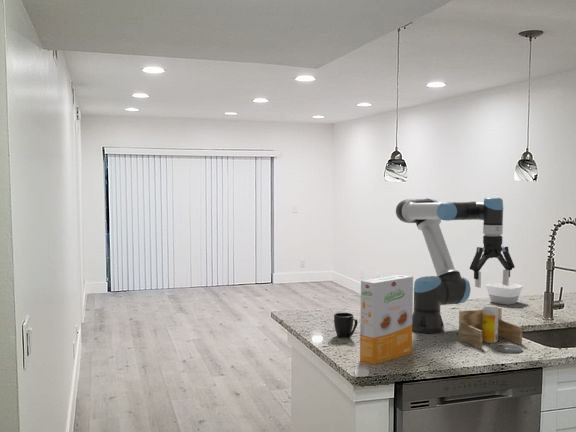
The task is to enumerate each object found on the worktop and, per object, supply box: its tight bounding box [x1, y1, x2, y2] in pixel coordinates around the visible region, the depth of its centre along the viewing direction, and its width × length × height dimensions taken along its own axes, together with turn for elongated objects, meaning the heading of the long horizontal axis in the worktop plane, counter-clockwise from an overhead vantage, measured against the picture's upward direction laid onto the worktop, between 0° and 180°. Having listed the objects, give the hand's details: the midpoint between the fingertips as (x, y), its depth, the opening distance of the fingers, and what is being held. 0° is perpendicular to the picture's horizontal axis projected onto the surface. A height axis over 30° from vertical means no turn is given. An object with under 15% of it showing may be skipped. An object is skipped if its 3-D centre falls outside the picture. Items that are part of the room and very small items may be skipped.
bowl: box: [485, 281, 524, 305], centre depth 321 cm, size 18×18×9 cm
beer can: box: [482, 304, 499, 344], centre depth 242 cm, size 6×6×15 cm
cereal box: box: [359, 274, 414, 365], centre depth 221 cm, size 22×6×30 cm, turn 129°
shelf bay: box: [458, 307, 523, 349], centre depth 243 cm, size 20×14×12 cm
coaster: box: [495, 344, 523, 354], centre depth 231 cm, size 10×10×1 cm
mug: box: [333, 312, 359, 339], centre depth 248 cm, size 8×12×10 cm
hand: (491, 286), depth 241 cm, fingers open, 13 cm apart
